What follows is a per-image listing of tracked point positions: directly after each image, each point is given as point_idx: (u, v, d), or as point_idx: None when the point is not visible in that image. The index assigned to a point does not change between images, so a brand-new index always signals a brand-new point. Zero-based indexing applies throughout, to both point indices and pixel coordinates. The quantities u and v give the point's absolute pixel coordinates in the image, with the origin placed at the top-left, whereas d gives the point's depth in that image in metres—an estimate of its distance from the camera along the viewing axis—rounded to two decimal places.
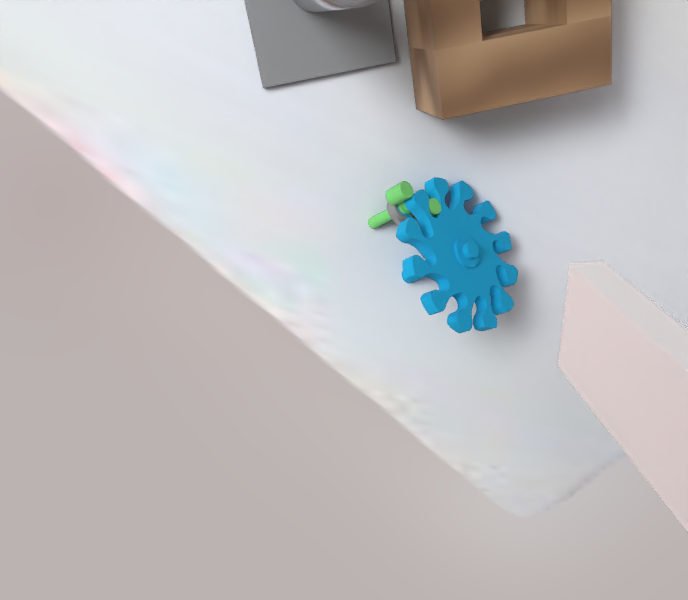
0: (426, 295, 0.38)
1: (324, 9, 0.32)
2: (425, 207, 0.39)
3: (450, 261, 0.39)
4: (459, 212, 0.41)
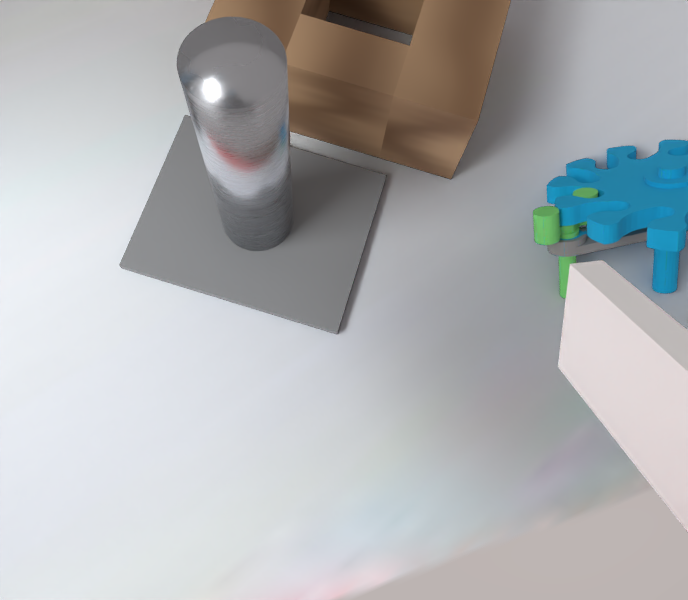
0: None
1: (280, 183, 0.24)
2: (582, 200, 0.27)
3: (677, 194, 0.26)
4: (608, 174, 0.29)
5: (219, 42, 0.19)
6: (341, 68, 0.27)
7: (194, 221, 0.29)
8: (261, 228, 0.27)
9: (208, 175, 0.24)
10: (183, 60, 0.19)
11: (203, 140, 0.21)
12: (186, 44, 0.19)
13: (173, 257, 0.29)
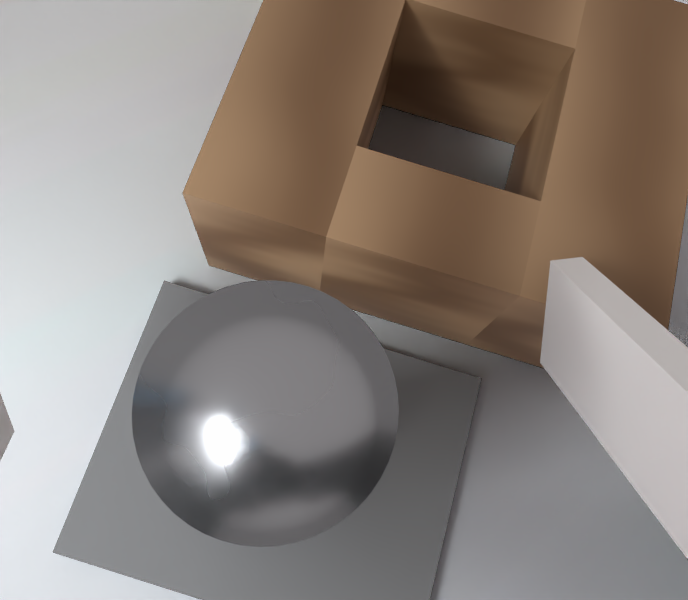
0: None
1: None
2: None
3: None
4: None
5: (236, 352, 0.08)
6: (428, 246, 0.16)
7: None
8: None
9: None
10: (148, 407, 0.08)
11: None
12: (156, 360, 0.08)
13: (143, 534, 0.17)
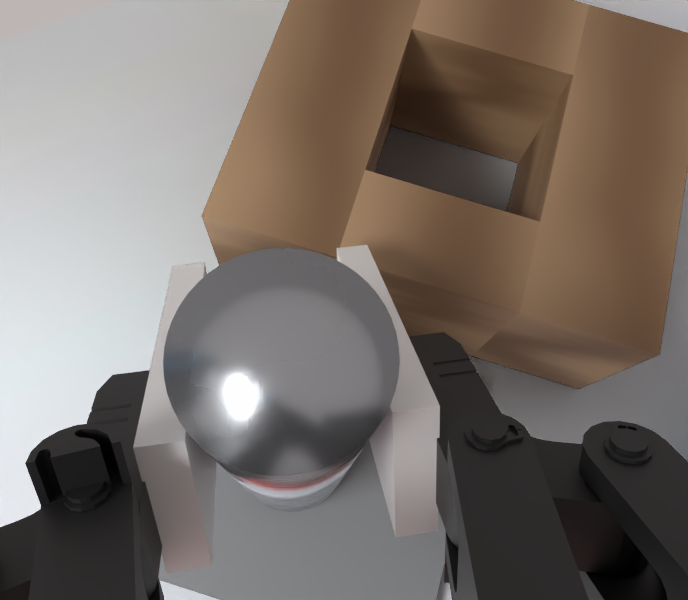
0: None
1: (345, 473, 0.14)
2: None
3: None
4: None
5: (255, 309, 0.09)
6: (433, 265, 0.17)
7: None
8: (303, 506, 0.16)
9: None
10: (177, 354, 0.09)
11: None
12: (185, 314, 0.09)
13: None
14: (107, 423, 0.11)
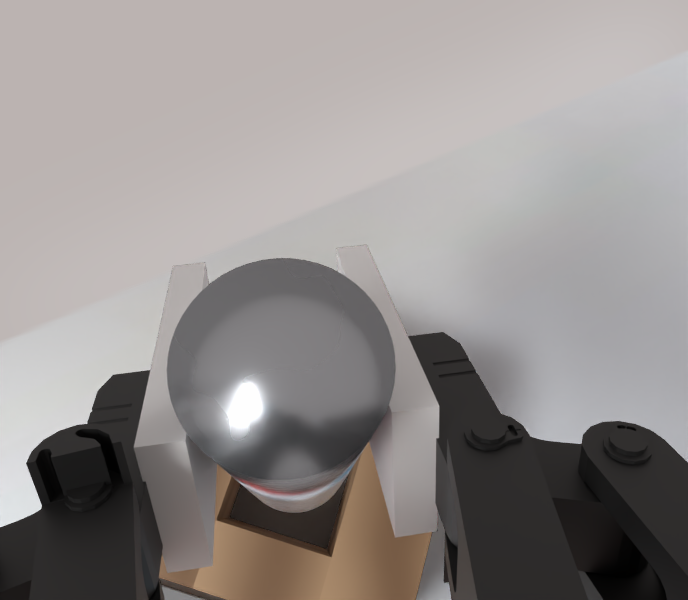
0: None
1: (346, 475, 0.14)
2: None
3: None
4: None
5: (255, 318, 0.09)
6: (256, 593, 0.25)
7: None
8: (305, 507, 0.17)
9: None
10: (180, 362, 0.09)
11: None
12: (187, 323, 0.09)
13: None
14: (108, 423, 0.11)
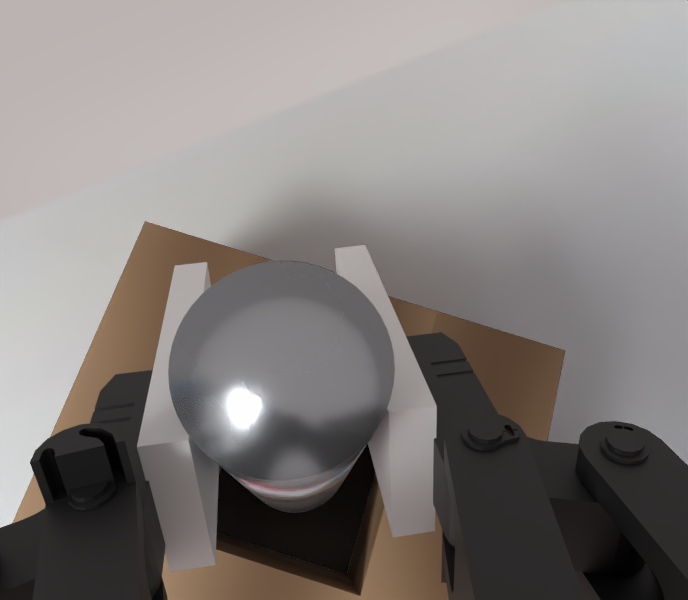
0: None
1: (346, 475, 0.14)
2: None
3: None
4: None
5: (256, 320, 0.09)
6: None
7: None
8: (305, 507, 0.17)
9: None
10: (182, 364, 0.09)
11: None
12: (189, 325, 0.09)
13: None
14: (110, 422, 0.11)
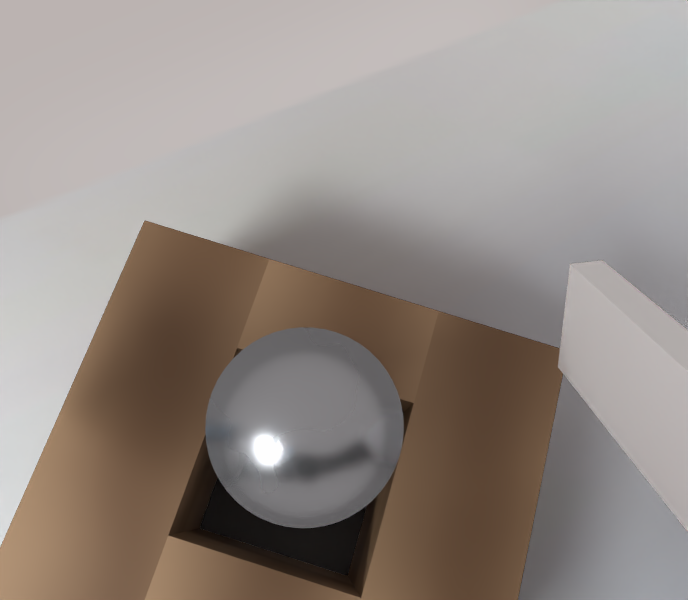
0: None
1: None
2: None
3: None
4: None
5: (282, 382, 0.11)
6: None
7: None
8: None
9: None
10: (217, 423, 0.10)
11: None
12: (223, 387, 0.11)
13: None
14: None
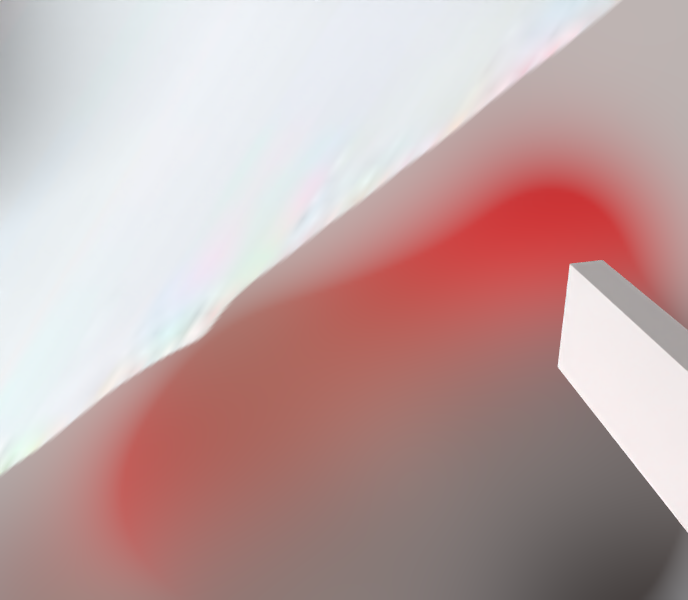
0: None
1: None
2: None
3: None
4: None
5: None
6: None
7: None
8: None
9: None
10: None
11: None
12: None
13: None
14: None
